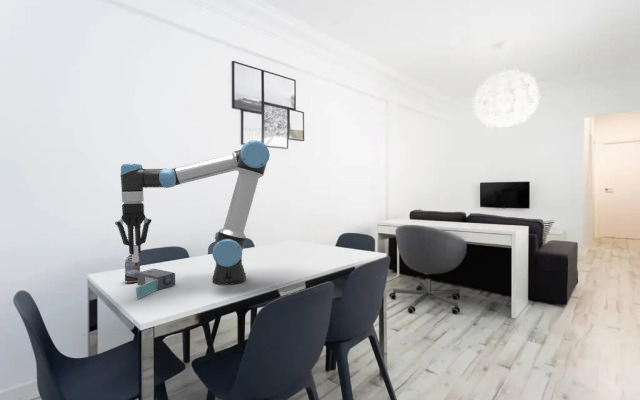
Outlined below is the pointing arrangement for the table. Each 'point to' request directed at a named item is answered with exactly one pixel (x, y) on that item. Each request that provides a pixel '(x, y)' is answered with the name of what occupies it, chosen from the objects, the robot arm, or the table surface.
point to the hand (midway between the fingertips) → (135, 261)
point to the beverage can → (131, 270)
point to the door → (147, 288)
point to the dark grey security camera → (163, 278)
